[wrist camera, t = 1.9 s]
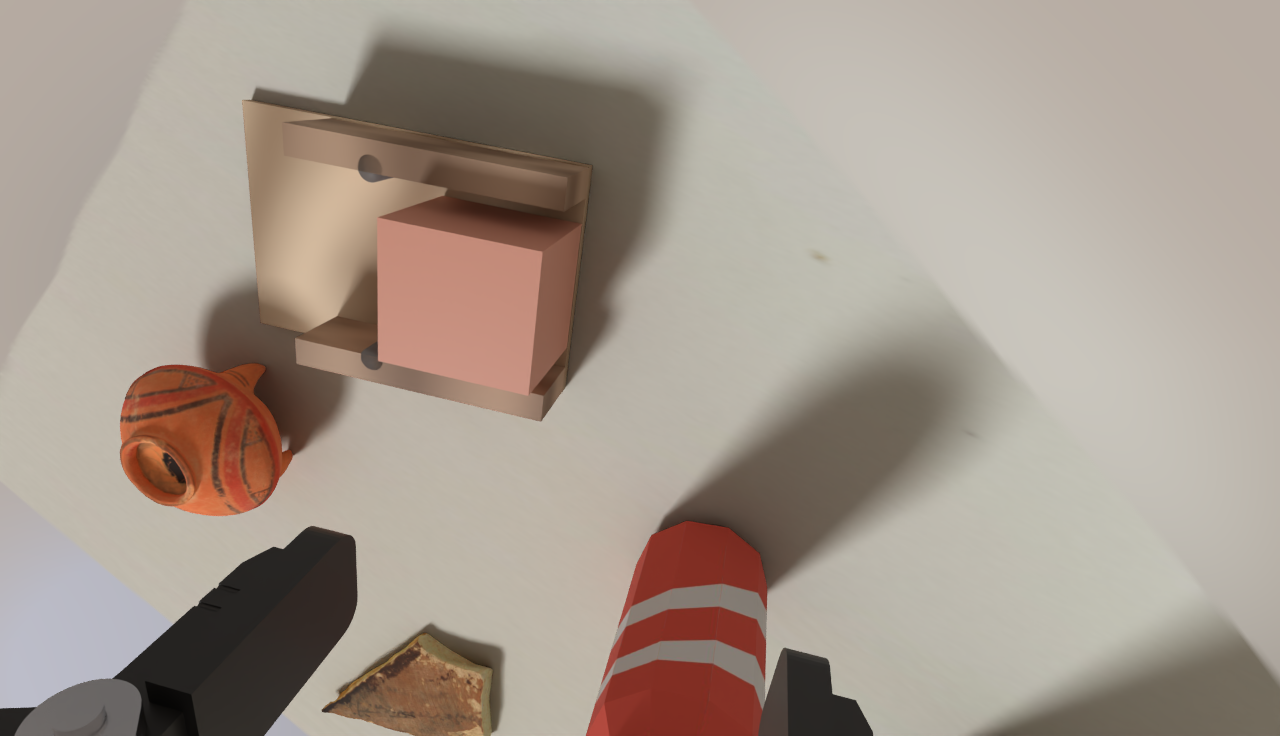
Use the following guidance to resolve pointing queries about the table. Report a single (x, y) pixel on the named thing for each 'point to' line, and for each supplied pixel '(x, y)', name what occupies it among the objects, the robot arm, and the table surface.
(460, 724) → the shard
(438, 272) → the block
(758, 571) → the beverage can
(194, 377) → the pot
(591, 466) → the table surface
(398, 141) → the tan wooden frame
